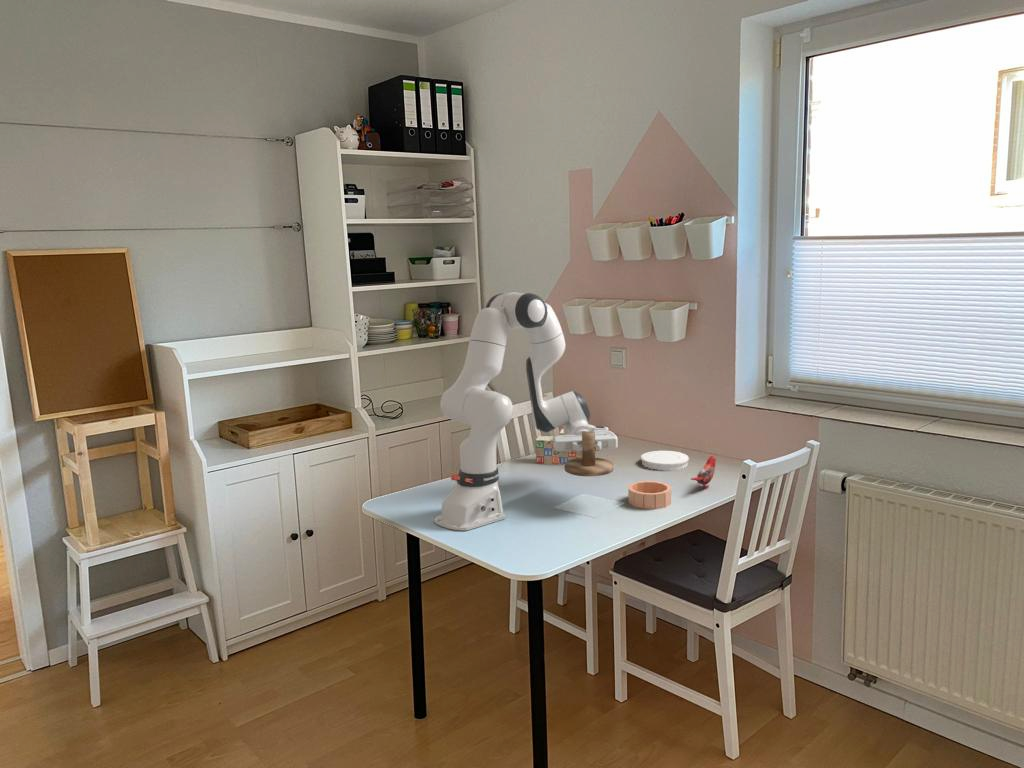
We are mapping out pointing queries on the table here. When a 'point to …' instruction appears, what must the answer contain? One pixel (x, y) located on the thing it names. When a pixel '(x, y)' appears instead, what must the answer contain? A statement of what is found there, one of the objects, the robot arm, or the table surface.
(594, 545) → the table surface
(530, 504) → the table surface
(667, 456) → the lid
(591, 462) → the walnut lid
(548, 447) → the stack of blocks
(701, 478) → the decorative bird figurine
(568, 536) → the table surface
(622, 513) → the table surface
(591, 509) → the rubber mat
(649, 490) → the terracotta bowl
